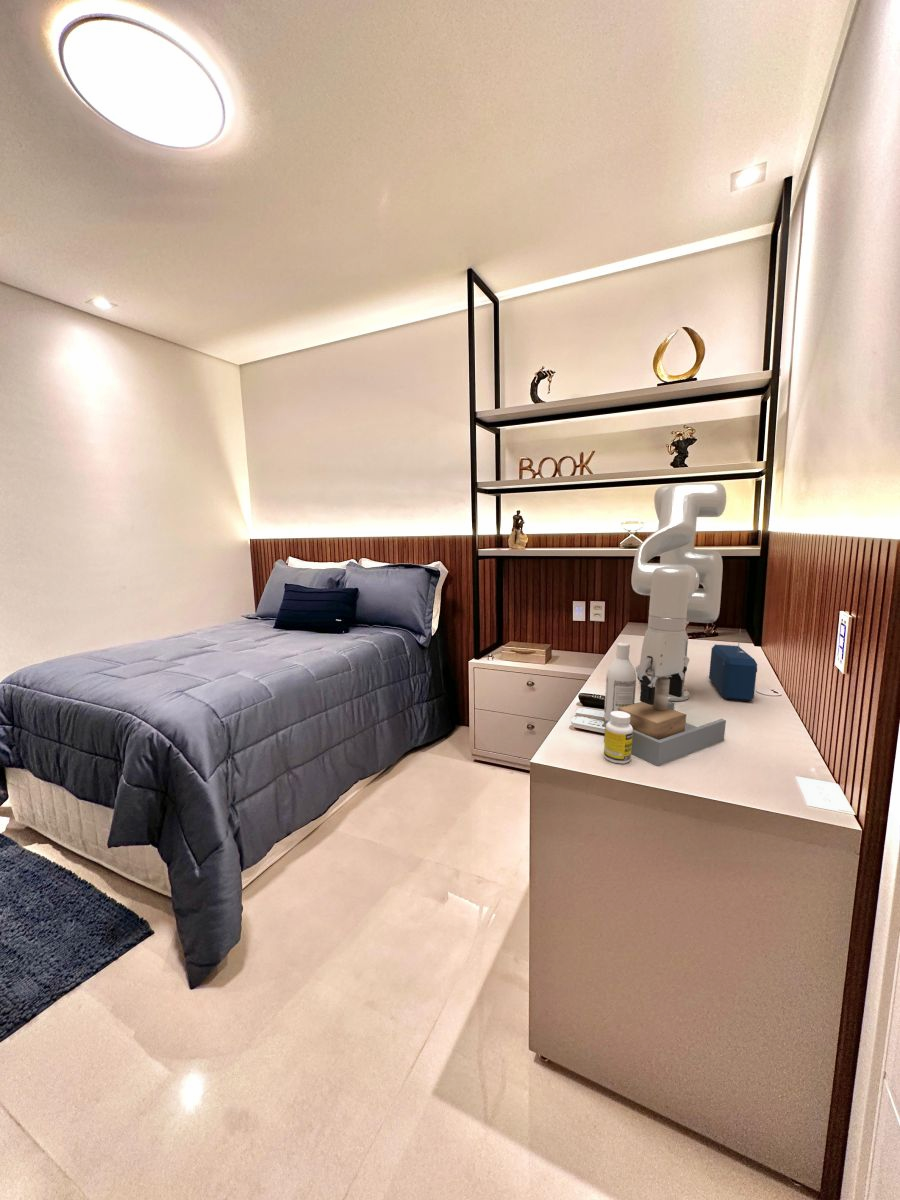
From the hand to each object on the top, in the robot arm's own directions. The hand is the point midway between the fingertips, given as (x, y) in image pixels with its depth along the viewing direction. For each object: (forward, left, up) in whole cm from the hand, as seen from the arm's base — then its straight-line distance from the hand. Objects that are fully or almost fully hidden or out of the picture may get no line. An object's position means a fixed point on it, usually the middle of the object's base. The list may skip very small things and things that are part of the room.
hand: (660, 699), depth 112 cm
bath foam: (-13, +3, -11) cm, 17 cm away
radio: (-12, +52, -11) cm, 54 cm away
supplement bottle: (0, -14, -11) cm, 18 cm away
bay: (0, +3, -10) cm, 11 cm away
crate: (0, -3, -9) cm, 10 cm away
